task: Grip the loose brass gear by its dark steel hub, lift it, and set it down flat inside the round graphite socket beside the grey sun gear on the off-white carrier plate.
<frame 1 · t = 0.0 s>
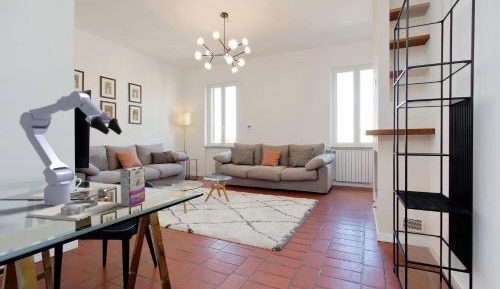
hand: (114, 132, 109), 32 cm above the table, tool tilted 50°, fingers open, 7 cm apart
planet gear: (102, 200, 122), on the table
candy bar box: (133, 203, 117), on the table
carrier plate: (77, 210, 105), on the table
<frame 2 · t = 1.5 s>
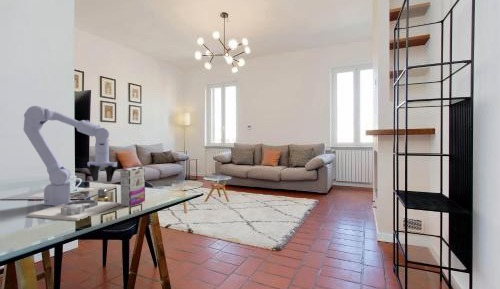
hand: (102, 181, 122), 9 cm above the table, tool pointing down, fingers open, 7 cm apart
nothing on the table moved.
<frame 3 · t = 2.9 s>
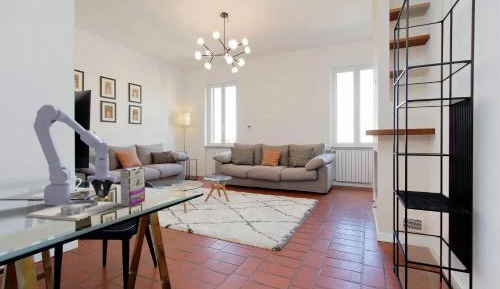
hand: (102, 195, 122), 2 cm above the table, tool pointing down, fingers closed on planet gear, 4 cm apart
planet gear: (102, 200, 122), on the table, touching gripper
everything else where it was.
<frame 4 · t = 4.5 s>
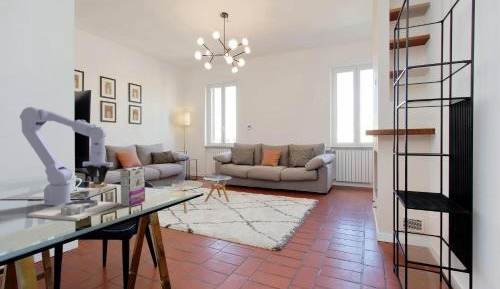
hand: (97, 181, 119), 9 cm above the table, tool pointing down, fingers closed on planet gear, 4 cm apart
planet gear: (98, 186, 119), point 7 cm above the table, touching gripper
everything else where it was.
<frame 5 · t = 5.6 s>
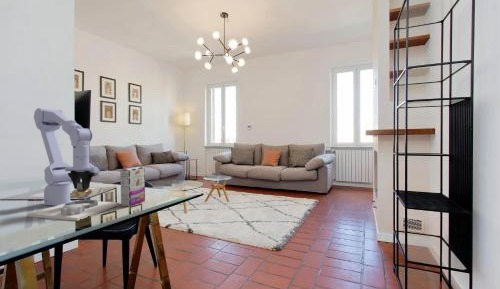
hand: (81, 188, 108), 8 cm above the table, tool pointing down, fingers closed on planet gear, 4 cm apart
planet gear: (82, 194, 108), point 6 cm above the table, touching gripper
everything else where it was.
when the fingers open (5 cm above the table, at t = 6.5 s): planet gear drops 2 cm, resting on carrier plate.
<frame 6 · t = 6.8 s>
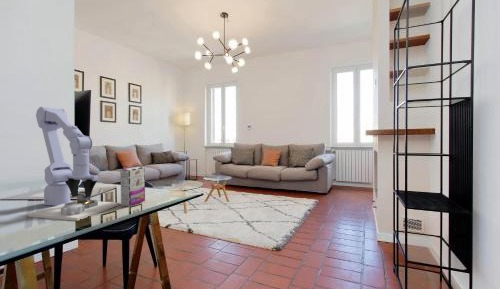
hand: (81, 196, 108), 5 cm above the table, tool pointing down, fingers open, 6 cm apart
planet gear: (82, 205, 108), point 1 cm above the table, touching carrier plate
everything else where it was.
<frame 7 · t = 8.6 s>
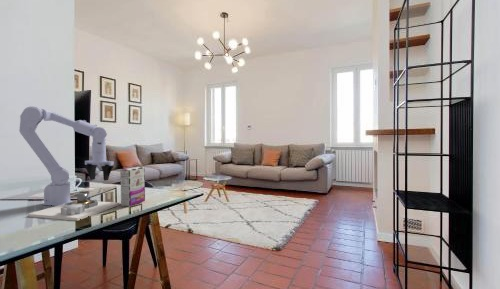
hand: (99, 179, 123), 9 cm above the table, tool pointing down, fingers open, 7 cm apart
nothing on the table moved.
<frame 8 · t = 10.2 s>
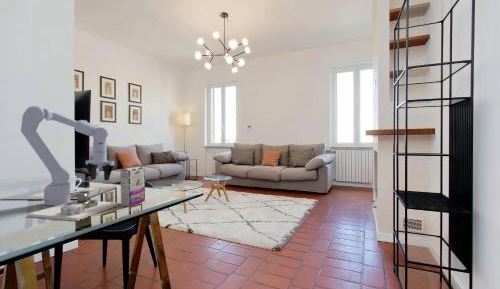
hand: (100, 179, 124), 9 cm above the table, tool pointing down, fingers open, 7 cm apart
nothing on the table moved.
at the end: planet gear 0.4 cm from the target spot on the carrier plate, point 1.0 cm above the carrier plate's base; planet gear tilted 0°; the gripper is holding nothing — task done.
